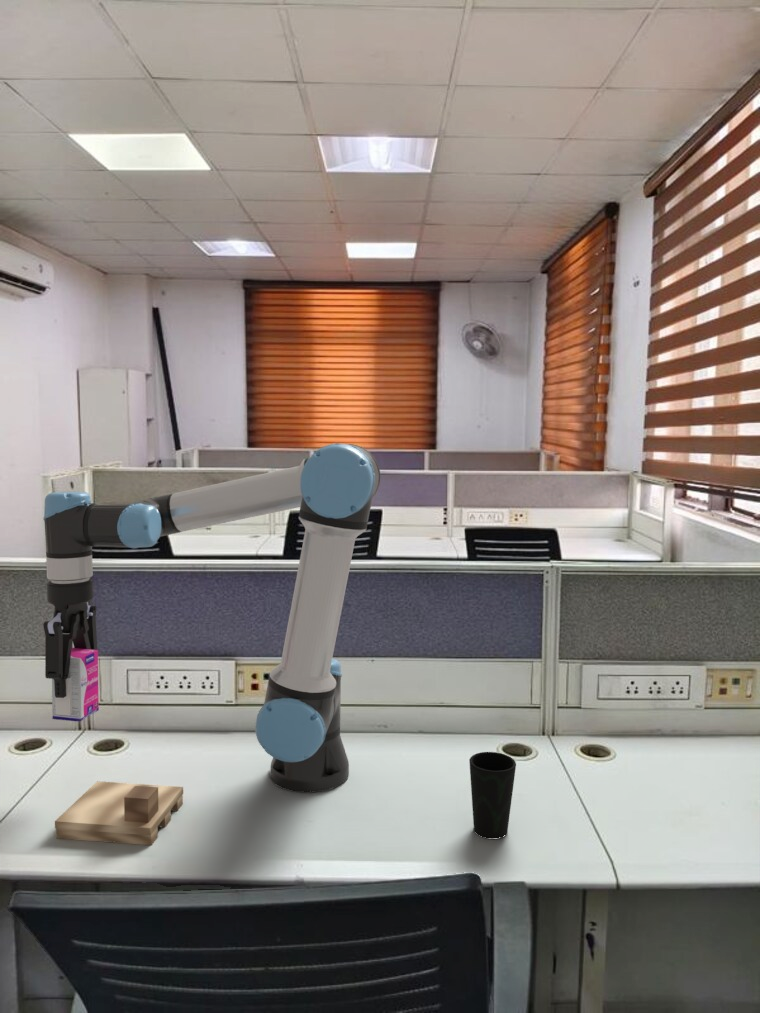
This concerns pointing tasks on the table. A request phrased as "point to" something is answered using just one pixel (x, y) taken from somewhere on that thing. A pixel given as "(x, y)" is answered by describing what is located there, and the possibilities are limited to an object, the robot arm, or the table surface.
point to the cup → (491, 792)
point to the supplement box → (81, 685)
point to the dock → (115, 815)
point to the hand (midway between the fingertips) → (74, 706)
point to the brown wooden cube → (141, 804)
